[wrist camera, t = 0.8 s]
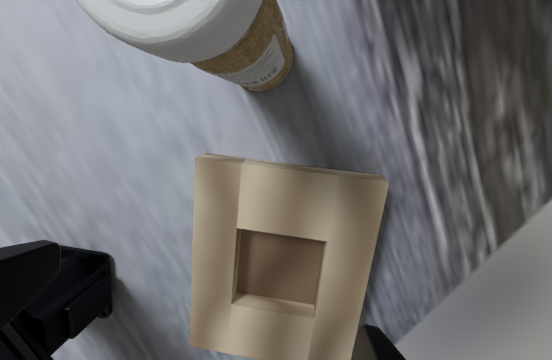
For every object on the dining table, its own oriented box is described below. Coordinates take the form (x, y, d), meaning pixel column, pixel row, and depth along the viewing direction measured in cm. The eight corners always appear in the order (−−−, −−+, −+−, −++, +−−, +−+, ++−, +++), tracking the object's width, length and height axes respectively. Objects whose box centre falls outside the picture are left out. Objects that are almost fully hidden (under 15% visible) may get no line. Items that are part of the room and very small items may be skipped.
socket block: (199, 327, 24) (189, 346, 22) (205, 153, 20) (194, 157, 18) (343, 354, 23) (347, 376, 21) (381, 175, 19) (389, 182, 17)
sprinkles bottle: (293, 19, 17) (251, -253, 4) (292, 92, 19) (256, 44, 6) (225, 22, 18) (11, -214, 5) (228, 93, 19) (59, 51, 6)
